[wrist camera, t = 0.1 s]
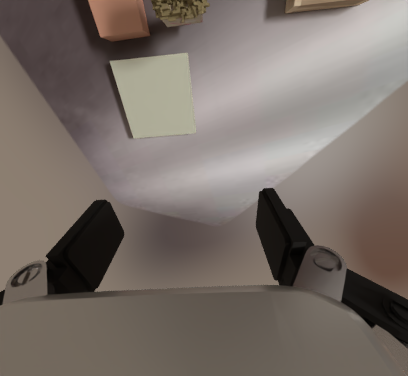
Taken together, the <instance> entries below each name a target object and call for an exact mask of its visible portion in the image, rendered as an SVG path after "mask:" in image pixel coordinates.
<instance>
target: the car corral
mask: <svg viewBox="0 0 408 376" xmlns="http://www.w3.org/2000/svg"><path fill="white" fill-rule="evenodd" d="M366 1H369V0H286V8H285V13H294V12H303V11H311V10H320V9H329V8H337V7H346V6H355V5H360V4H362V3H364V2H366Z"/></svg>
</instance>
